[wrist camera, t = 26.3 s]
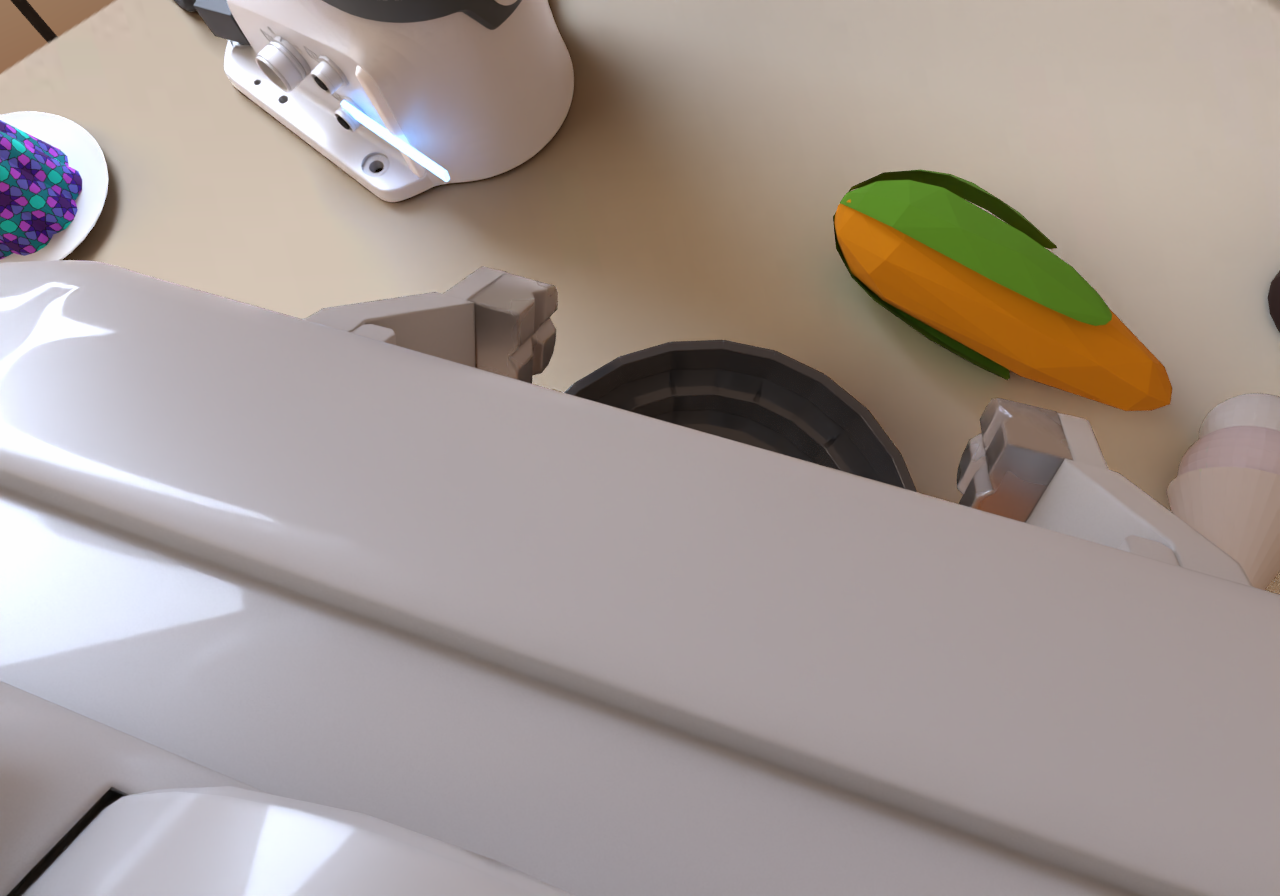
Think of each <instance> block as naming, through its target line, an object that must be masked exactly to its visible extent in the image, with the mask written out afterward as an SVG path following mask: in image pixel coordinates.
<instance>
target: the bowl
mask: <svg viewBox="0 0 1280 896" xmlns="http://www.w3.org/2000/svg"><path fill="white" fill-rule="evenodd" d="M564 393H566V394H570V395H573V396H577V397H581V398H584V399H588V400H591V401H595V402H598V403H602V404H605V405H609V406H612V407H616V408H620V409H623V410H627V411H630V412H634V413H637V414H641V415H644V416H648V417H652V418H655V419H659V420H662V421H666V422H669V423H673V424H676V425H680V426H683V427H687V428H691V429H694V430H698V431H701V432H705V433H708V434H712V435H715V436H719V437H722V438H726V439H730V440H733V441H737V442H740V443H744V444H747V445H751V446H754V447H758V448H762V449H765V450H769V451H772V452H776V453H779V454H783V455H786V456H790V457H793V458H797V459H801V460H804V461H808V462H811V463H815V464H818V465H822V466H825V467H829V468H833V469H836V470H840V471H843V472H847V473H850V474H854V475H857V476H861V477H864V478H868V479H872V480H875V481H879V482H882V483H886V484H889V485H893V486H896V487H900V488H903V489H907V490H911V491H914V492H917V491H916V489H915V486H914V484H913V481H912V479H911V477H910V474H909V472H908V469H907V467H906V464H905V462H904V460H903V457H902V455H900V454H901V453H900V452H899V451H898V449H897V448H896V447H895V445H894V444H893V443H892V441H891V440H890V439H889V437H888V436H887V435H886V433H885V432H884V431H883V429H882V428H881V426H880V425H879V424H878V422H877V421H876V420H875V418H874V417H873V416H872V414H871V413H870V412H869V410H867V408H866V407H864V406H863V405H862V404H861V403H859V402H858V401H857V400H856V399H855V398H853V397H852V396H851V395H850V394H848V393H847V392H846V391H845V390H844V389H842V388H841V387H840V386H839V385H837V384H836V383H835V382H834V381H833V380H831V379H830V378H829V377H828V376H826V375H825V374H823V373H821V372H819V371H817V370H815V369H813V368H811V367H809V366H807V365H805V364H802V363H800V362H798V361H796V360H794V359H792V358H790V357H788V356H786V355H784V354H782V353H779V352H777V351H774V350H770V349H765V348H760V347H755V346H750V345H746V344H741V343H736V342H731V341H726V340H708V341H681V342H668V343H665V344H661V345H658V346H654V347H651V348H648V349H644V350H641V351H637V352H634V353H630V354H627V355H624V356H620V357H618V358H616V359H614V360H613V361H611V362H609V363H608V364H606V365H604V366H603V367H601V368H599V369H597V370H596V371H594V372H592V373H591V374H589V375H587V376H586V377H584V378H582V379H581V380H579V381H577V382H575V383H574V384H573V385H571V386H570V387H569V388H568V389H567V390H566V391H565V392H564Z"/></svg>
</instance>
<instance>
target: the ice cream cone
mask: <svg viewBox="0 0 1280 896" xmlns="http://www.w3.org/2000/svg"><path fill="white" fill-rule="evenodd" d="M1167 496H1168V500H1169V504H1170V507H1171V511H1172V513H1173V514H1175V515H1176V516H1177V517H1179V518H1180V519H1181V520H1183V521H1184V522H1185V523H1187V524H1188V525H1189V526H1191V527H1192V528H1193V529H1195V530H1196V531H1197V532H1199V533H1200V534H1201V535H1203V536H1204V537H1205V538H1207V539H1208V540H1209V541H1211V542H1212V543H1213V544H1215V545H1216V546H1217V547H1219V548H1220V549H1221V550H1223V551H1224V552H1225V553H1227V554H1228V555H1229V556H1231V557H1232V558H1233V559H1235V560H1236V561H1237V562H1239V563H1240V564H1241V566H1242V568H1243V570H1244V571H1245V573H1246V575H1247V577H1248V579H1249V581H1250V582H1251V584H1252V586H1253V587H1255V588H1258V589H1262V590H1265V589H1266V587H1267V586H1268V585H1269V584H1270V583H1271V581H1272V580H1273V579H1274V578H1275V577H1276V575H1277V574H1278V573H1279V572H1280V397H1279V396H1275V395H1270V394H1254V393H1253V394H1244V395H1239V396H1236V397H1233V398H1230V399H1228V400H1225V401H1224V402H1222V403H1220V404H1219V405H1217V406H1216V407H1215V408H1213V409H1212V410H1211V411H1210V412H1209V413H1208V415H1207V416H1206V417H1205V419H1204V420H1203V422H1202V425H1201V427H1200V431H1199V440H1198V441H1196V442H1195V443H1194V444H1193V445H1191V447H1190V448H1189V449H1188V450H1187V452H1186V453H1185V455H1184V456H1183V457H1182V460H1181V462H1180V465H1179V469H1178V476H1177V478H1175V479H1174V480H1172V481H1171V483H1170V484H1169V486H1168V488H1167Z"/></svg>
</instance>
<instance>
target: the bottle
mask: <svg viewBox="0 0 1280 896" xmlns="http://www.w3.org/2000/svg"><path fill="white" fill-rule="evenodd" d="M1268 301H1269V309H1270V314H1271V316H1272V319H1273V321H1274V323H1275V325H1276V327H1277V329H1278V330H1279V332H1280V271H1279V272H1278V274H1277V275H1276V277H1275V278H1274V279H1273V281H1272V282H1271V286H1270V290H1269V295H1268Z"/></svg>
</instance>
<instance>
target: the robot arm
mask: <svg viewBox="0 0 1280 896" xmlns="http://www.w3.org/2000/svg"><path fill="white" fill-rule="evenodd" d="M174 1H175V2H176V3H177V4H178V5H179V6H180V7H182V8H183V9H185V10H187V11H196V10H197V12H198V13H199V15H200V16H201V17H202V19H203V20H204V21H205V23H206V24H207V26H208V27H209V28H210V30H211V31H212V33H213V34H214V35H215V36H217V37H221V38H224V39H228V43H227V46H226V50H225V57H224V71H225V73H226V75H227V77H228V78H229V80H230V82H231V83H232V84H233V85H234V86H235V87H236V88H237V89H238V90H239V91H240V92H242V93H243V94H244V95H245V96H247V97H248V98H249V99H251V100H252V101H253V102H255V103H256V104H257V105H258V106H260V107H261V108H262V109H264V110H265V111H266V112H268V113H269V114H270V115H272V116H273V117H274V118H275V119H277V120H278V121H279V122H281V123H282V124H283V125H285V126H286V127H287V128H289V129H290V130H291V131H292V132H294V133H295V134H296V135H298V136H299V137H300V138H302V139H303V140H304V141H306V142H307V143H308V144H309V145H311V146H312V147H313V148H315V149H316V150H317V151H319V152H320V153H321V154H323V155H324V156H325V157H326V158H328V159H329V160H330V161H332V162H333V163H334V164H336V165H337V166H338V167H340V168H341V169H342V170H343V171H345V172H346V173H347V174H349V175H350V176H351V177H353V178H354V179H355V180H357V181H358V182H359V183H360V184H362V185H363V186H364V187H366V188H367V189H368V190H370V191H371V192H372V193H374V194H375V195H376V196H378V197H379V198H380V199H382V200H384V201H387V202H398V201H402V200H405V199H408V198H411V197H413V196H415V195H417V194H420V193H422V192H424V191H426V190H428V189H430V188H432V187H434V186H438V185H442V184H448V183H459V182H469V181H476V180H481V179H485V178H489V177H493V176H496V175H499V174H501V173H504V172H506V171H509V170H511V169H513V168H515V167H517V166H519V165H520V164H522V163H524V162H525V161H527V160H528V159H530V158H531V157H533V156H534V155H535V154H536V153H538V152H539V151H540V150H541V149H542V148H543V147H544V146H545V145H546V144H547V143H548V142H549V141H550V140H551V139H552V138H553V136H554V135H555V134H556V133H557V131H558V130H559V128H560V127H561V125H562V123H563V122H564V120H565V118H566V116H567V113H568V111H569V108H570V105H571V101H572V97H573V91H574V72H573V65H572V61H571V58H570V55H569V52H568V50H567V48H566V46H565V43H564V41H563V39H562V37H561V35H560V33H559V31H558V28H557V26H556V23H555V21H554V18H553V15H552V12H551V9H550V7H549V4H548V0H174ZM11 2H12V3H13V4H14V5H15V6H16V7H17V8H18V9H19V11H20V12H21V13H22V14H23V15H24V16H25V18H26V19H27V20H28V21H29V22H30V23H31V25H32V26H33V27H34V28H35V29H36V30H37V31H38V32H39V33H40V35H41V36H42V37H43V38H44V39H45V40H46V41H47V42H48V43H50V42H51V41H53V40H54V39H56V38H58V36H57V35H56V34H55V33H54V32H53V31H52V30H51V28H50V27H49V26H48V25H47V24H46V23H45V22H44V20H43V19H42V18H41V17H40V16H39V14H38V13H37V12H36V11H35V10H34V8H33V7H32V6H31V5H30V4H29V2H28V1H27V0H11ZM379 168H383V170H382V171H380V172H378V173H374V172H375V171H376V170H377V169H379ZM557 306H558V292H557V289H556V287H555V286H554V285H550V284H547V283H543V282H539V281H536V280H532V279H528V278H525V277H521V276H517V275H514V274H510V273H507V272H506V271H501V270H496V269H492V268H487V267H483V266H482V267H480V268H479V269H477V270H476V271H474V272H473V273H472V274H470V275H469V276H467V277H466V278H464V279H463V280H462V281H460V282H459V283H457V284H456V285H454V286H453V287H452V288H450V289H449V290H447V291H446V292H444V293H443V294H441V293H437V292H432V293H425V294H419V295H412V296H405V297H398V298H391V299H384V300H377V301H371V302H364V303H357V304H350V305H343V306H336V307H329V308H323V309H321V310H319V311H317V312H316V313H314V314H312V315H311V316H309V317H307V318H306V319H300V318H297V317H293V316H290V315H286V314H282V313H279V312H275V311H272V310H268V309H265V308H261V307H258V306H254V305H250V304H247V303H243V302H240V301H236V300H233V299H229V298H226V297H222V296H219V295H215V294H211V293H208V292H204V291H201V290H197V289H194V288H190V287H187V286H183V285H179V284H176V283H172V282H169V281H165V280H162V279H158V278H155V277H151V276H147V275H144V274H141V273H138V272H135V271H132V270H129V269H126V268H122V267H119V266H115V265H111V264H108V263H104V262H97V261H82V260H54V261H26V262H8V263H0V896H1280V594H1276V593H1273V592H1269V591H1266V590H1262V589H1258V588H1255V587H1253V586H1252V584H1251V582H1250V581H1249V579H1248V577H1247V575H1246V573H1245V571H1244V570H1243V568H1242V566H1241V564H1240V563H1239V562H1237V561H1236V560H1235V559H1233V558H1232V557H1231V556H1229V555H1228V554H1227V553H1225V552H1224V551H1223V550H1221V549H1220V548H1219V547H1217V546H1216V545H1215V544H1213V543H1212V542H1211V541H1209V540H1208V539H1207V538H1205V537H1204V536H1203V535H1201V534H1200V533H1199V532H1197V531H1196V530H1195V529H1193V528H1192V527H1191V526H1189V525H1188V524H1187V523H1185V522H1184V521H1183V520H1181V519H1180V518H1179V517H1177V516H1176V515H1175V514H1173V513H1172V512H1171V511H1169V510H1168V509H1167V508H1165V507H1164V506H1163V505H1161V504H1160V503H1159V502H1157V501H1156V500H1154V499H1153V498H1152V497H1150V496H1149V495H1148V494H1146V493H1145V492H1144V491H1142V490H1141V489H1140V488H1138V487H1137V486H1136V485H1134V484H1133V483H1132V482H1130V481H1129V480H1128V479H1126V478H1125V477H1124V476H1122V475H1121V474H1120V473H1118V472H1114V471H1111V470H1109V469H1108V467H1107V464H1106V462H1105V459H1104V457H1103V454H1102V452H1101V449H1100V447H1099V445H1098V442H1097V440H1096V437H1095V435H1094V432H1093V430H1092V427H1091V425H1090V422H1089V421H1088V420H1086V419H1084V418H1080V417H1075V416H1070V415H1066V414H1061V413H1057V412H1056V411H1052V410H1048V409H1043V408H1039V407H1035V406H1030V405H1026V404H1022V403H1017V402H1013V401H1009V400H1004V399H1000V398H994V399H992V400H991V401H990V402H989V404H988V405H987V406H986V408H985V410H984V412H983V414H982V416H981V418H980V423H981V430H982V433H981V434H979V435H977V436H975V437H973V438H972V439H970V440H969V442H968V444H967V446H966V448H965V450H964V452H963V455H962V458H961V461H960V464H959V467H958V473H957V489H958V490H959V491H960V492H961V493H962V494H963V497H962V499H961V501H960V502H959V504H957V503H953V502H950V501H946V500H943V499H939V498H935V497H932V496H928V495H925V494H921V493H918V492H914V491H911V490H907V489H903V488H900V487H896V486H893V485H889V484H886V483H882V482H879V481H875V480H872V479H868V478H864V477H861V476H857V475H854V474H850V473H847V472H843V471H840V470H836V469H833V468H829V467H825V466H822V465H818V464H815V463H811V462H808V461H804V460H801V459H797V458H793V457H790V456H786V455H783V454H779V453H776V452H772V451H769V450H765V449H762V448H758V447H754V446H751V445H747V444H744V443H740V442H737V441H733V440H730V439H726V438H722V437H719V436H715V435H712V434H708V433H705V432H701V431H698V430H694V429H691V428H687V427H683V426H680V425H676V424H673V423H669V422H666V421H662V420H659V419H655V418H652V417H648V416H644V415H641V414H637V413H634V412H630V411H627V410H623V409H620V408H616V407H612V406H609V405H605V404H602V403H598V402H595V401H591V400H588V399H584V398H581V397H577V396H573V395H570V394H566V393H563V392H559V391H556V390H552V389H549V388H545V387H542V386H538V385H534V384H532V375H535V374H539V373H542V372H543V370H544V369H545V368H546V367H547V366H548V364H549V361H550V359H551V357H552V354H553V351H554V346H555V340H556V328H555V327H554V325H553V323H552V321H551V319H550V318H549V317H550V316H551V315H552V314H553V313H554V312H555V311H556V310H557Z"/></svg>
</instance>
